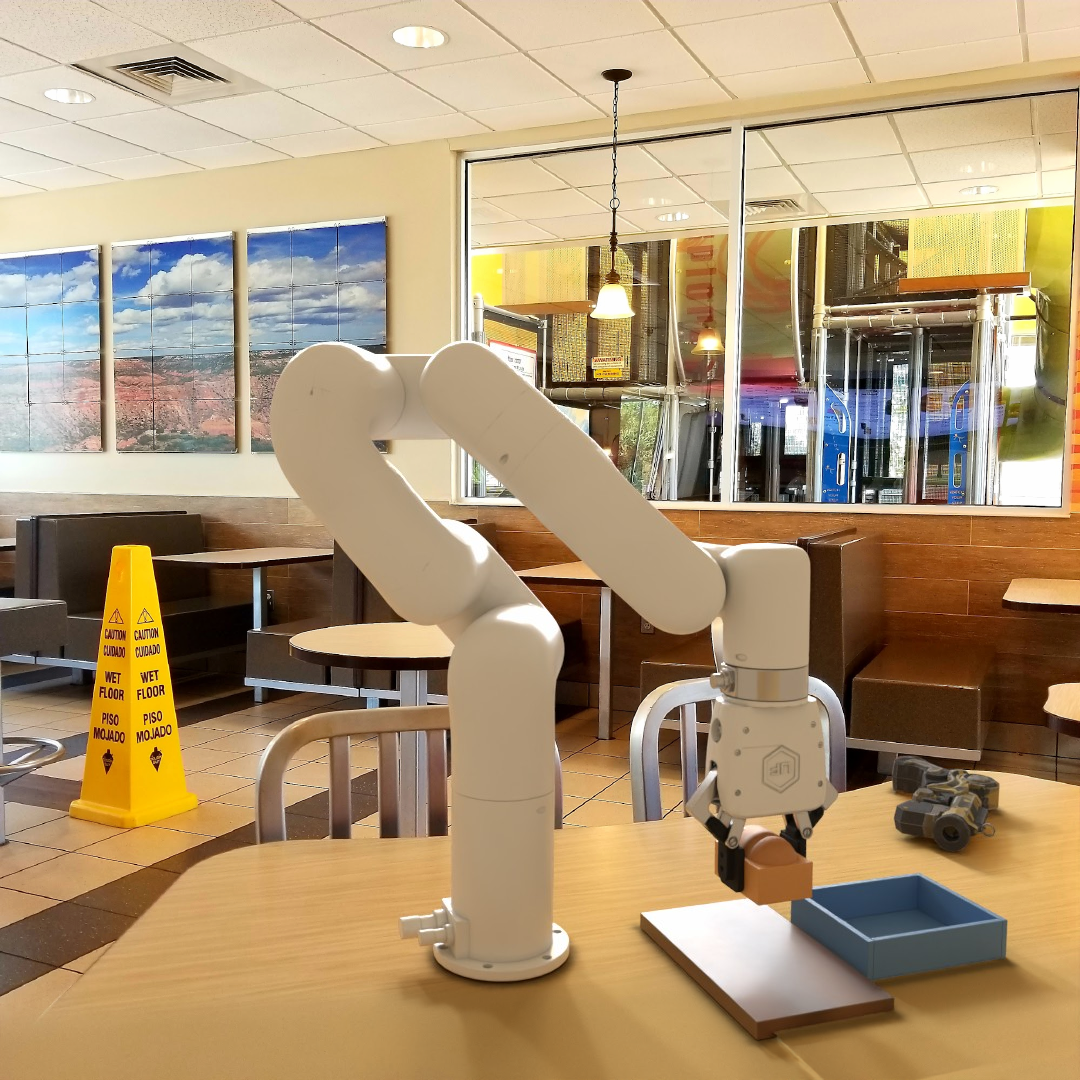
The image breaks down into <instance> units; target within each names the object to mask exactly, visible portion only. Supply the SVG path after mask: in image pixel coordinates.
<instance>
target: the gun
mask: <svg viewBox="0 0 1080 1080" xmlns="http://www.w3.org/2000/svg"><path fill="white" fill-rule="evenodd" d="M891 784H892V791H893V792H895V791H896V792H903V794H908V795H909V794H911V795H912V797H911V799H909V800H906V801H904V802H902V803H899V804H897V805H896V808H895V811H894V815H893V821H894V827H895V829H896V830H897V831H898V832H899V833H901V834H903V835H909V836H915V837H920V838H928V839H931V840H932V839H934V841H935V843H936V844H937V846H938V847H939V848H941V849H942V850H944V851H947V852H959V851H962V850H963V849H965V848H966V847H967V846H968V844H970V841H971V837H976V836H978V835H979V834H980V833H981V834H982V835H983V836H984V837H985V838H991V837H994V836H995V834H996V828H995V826H994V825H993V824H992V823H988V822H987V820H988V817H989V815H988V814H989V812H992V811H994V810H997V809H998V808H999V803H1000V782H999V781H997V780H995V779H994V778H993V777H991V776H988V775H984V774H978V773H969V772H968V771H967V770H966V769H961V768H959V769H958V768H956V769H955V768H954V769H947V768H944V767H942V766H939V765H936V764H934V763H931V762H929V761H927V760H926V759H923V758H922V757H920V756H918V755H899V756H898V757H896V758H895V759H894V761H893V766H892V771H891ZM987 827H991V828H992V830H993V831H992V833H990V834H987V833H986V832H984V831H986V830H987Z"/></svg>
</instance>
